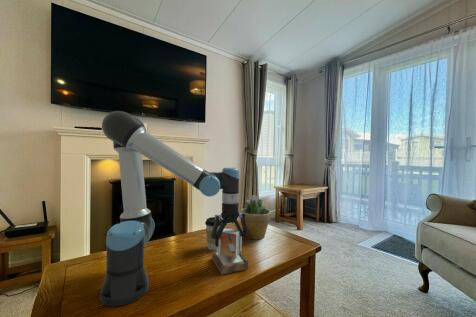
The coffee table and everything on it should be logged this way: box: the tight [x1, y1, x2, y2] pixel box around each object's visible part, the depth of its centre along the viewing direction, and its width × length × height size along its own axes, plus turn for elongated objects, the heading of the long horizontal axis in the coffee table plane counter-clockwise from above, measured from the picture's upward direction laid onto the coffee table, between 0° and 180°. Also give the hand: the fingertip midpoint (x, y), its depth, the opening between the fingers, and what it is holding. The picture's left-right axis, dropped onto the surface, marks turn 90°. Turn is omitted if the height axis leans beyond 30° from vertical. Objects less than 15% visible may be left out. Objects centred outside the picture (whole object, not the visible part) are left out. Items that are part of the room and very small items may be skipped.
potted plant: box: [239, 194, 272, 241], centre depth 127 cm, size 18×19×25 cm
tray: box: [211, 250, 249, 275], centre depth 94 cm, size 12×14×4 cm
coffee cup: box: [204, 216, 223, 251], centre depth 110 cm, size 10×10×15 cm
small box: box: [220, 227, 240, 258], centre depth 94 cm, size 8×6×10 cm
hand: (229, 251), depth 94 cm, fingers closed on small box, 9 cm apart
